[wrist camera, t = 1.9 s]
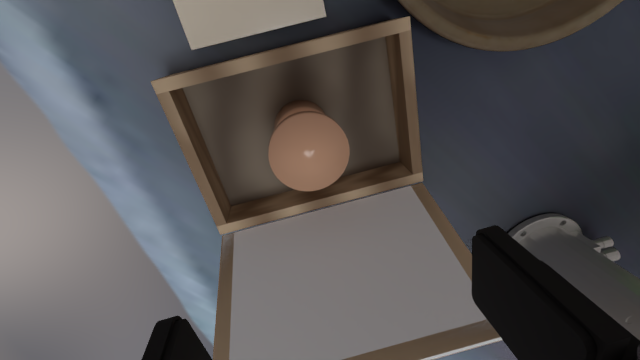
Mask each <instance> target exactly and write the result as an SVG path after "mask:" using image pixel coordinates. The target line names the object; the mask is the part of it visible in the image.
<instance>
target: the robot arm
mask: <svg viewBox="0 0 640 360" xmlns="http://www.w3.org/2000/svg"><path fill="white" fill-rule="evenodd" d="M613 245H614V242H613V240H612V239H611V238H610V237H608V236H605V237H601V238H597V239H596V240H590V239H588V238H587V237H585V236H584V235H582V231H581V229H580V227H579V225H578V224H577V223H576V222H575V221H573V220H572V219H570V218H568V217H566V216H564V215H561V214H553V213H551V214H543V215H539V216H535V217H533V218H530V219H528V220H526V221H524V222H522V223H521V224H519V225H517V226H516V227H515V228H513V229H512V230H511V231H510V232H509V233H508V234H507V233H506V232H505V231H504V230H503V229H501V228H500V227H499V226H496V225H495V226H491V227H488V228H484V229H481V230H478V231H477V232H476V236H473V238H472V298H473V300H474V302H475V304H476V306H477V307H478V308H479V310H480V311H481V312H482V314H483V315H484V316H485V317H486V319H487V320H488V321H489V323H490V324H491V325H492V327H493V328H494V329H495V330H496V332H497V333H498V334H499V336H500V337H501V338H502V340H503V341H504V342H505V344H506V345H507V346H508V347H509V349H510V350H511V351H512V353H513V354H514V355H515V357H516V358H517V359H518V360H640V279H639V278H637V277H636V276H634V275H633V274H631V273H629V272H628V271H626V270H625V269H623V268H622V267H620V266H619V265H617V264H616V263H614V262H613V261H617V260H619V259H620V253H619V252H618V250H616V249H615V248H613V247H611V246H613ZM142 360H212V359H211V357H210V355H209V354H208V352H207V351H206V349H205V348H204V346H203V344H202V343H201V341H200V340H199V338H198V337H197V335H196V333H195V332H194V330H193V329H192V327H191V325H190V324H189V322H188V321H187V320H186V319H182V318H181V317H180V316H175V317H171V318H168V319H164V320H161V321H158V322H157V323H156V325H155V327H154V329H153V332H152V334H151V337H150V340H149V342H148V345H147V347H146V350H145V353H144V355H143V358H142Z"/></svg>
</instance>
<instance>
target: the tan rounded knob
mask: <svg viewBox="0 0 640 360" xmlns="http://www.w3.org/2000/svg"><path fill="white" fill-rule="evenodd" d="M349 155H350V149H349V143H348V139H347V137H346V135H345V133H344V131H343V130H342V129H341V127H340V126H339V125H338V123H337V122H336V121H335V120H333V119H332V118H331V117H329V116H327V115H326V114H325V113H324V111H323V110H322V109H321V108H320V107H319V106H318V105H317V104H315V103H313V102H311V101H307V100H296V101H292V102H290V103H288V104H286V105H285V106H284V107H282V109H281V110H280V111H279V112H278V114H277V116H276V119H275V123H274V131H273V133H272V135H271V138H270V142H269V152H268V157H269V163H270V166H271V169H272V171H273V173H274V174H275V176H276V177H277V178H278V179H279V180H280V181H281V182H282V183H283V184H285V185H286V186H288V187H290V188H292V189H295V190H299V191H316V190H320V189H323V188H325V187H328V186H329V185H331V184H333V183H334V182H335V181H336V180H337V179H338V178H339V177H340V176H341V175H342V174H343V172H344V170H345V169H346V166H347V164H348V161H349Z"/></svg>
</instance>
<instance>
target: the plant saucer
mask: <svg viewBox="0 0 640 360" xmlns="http://www.w3.org/2000/svg"><path fill="white" fill-rule="evenodd" d="M398 1H399V3H400V4H401V5H402V6H403V7H404V8H405V9H406V10H407V11H408V12H409V13H410V14H411V15H412V16H413V17H414V18H415V19H416V20H418V21H419V22H420V23H422V24H423V25H424V26H425V27H427V28H428V29H430V30H431V31H433V32H435V33H436V34H438V35H440V36H442V37H444V38H446V39H448V40H450V41H452V42H455V43H458V44H460V45H463V46H466V47H470V48H475V49H480V50H487V51H516V50H524V49H529V48H534V47H538V46H542V45H545V44H548V43H552V42H554V41H557V40H560V39H562V38H564V37H567V36H569V35H571V34H573V33H575V32H577V31H579V30H581V29H583V28H584V27H586V26H588V25H590V24H591V23H593V22H594V21H596V20H597V19H599V18H600V17H602V16H603V15H605V14H606V13H608V12H609V11H610V10H612V9H613V8H614V7H616V6H617V5H618V4H619V3H621V2H622V1H623V0H398Z"/></svg>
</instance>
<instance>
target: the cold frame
mask: <svg viewBox="0 0 640 360" xmlns="http://www.w3.org/2000/svg"><path fill="white" fill-rule="evenodd" d="M151 84H152V86H153V88H154V90H155V92H156V95H157V97H158V99H159V101H160V103H161V105H162V108H163V110H164V112H165V114H166V116H167V119H168V121H169V123H170V125H171V127H172V130H173V132H174V134H175V136H176V138H177V141H178V143H179V145H180V147H181V149H182V151H183V154H184V156H185V158H186V160H187V162H188V165H189V167H190V169H191V171H192V173H193V176H194V178H195V180H196V182H197V184H198V187H199V189H200V191H201V193H202V195H203V198H204V200H205V202H206V204H207V206H208V208H209V211H210V213H211V215H212V217H213V219H214V222H215V224H216V226H217V228H218V230H219V233H220V235H221V234H225V233H229V232H233V231H236V230H240V229H244V228H248V227H251V226H255V225H259V224H263V223H266V222H270V221H274V220H278V219H282V218H285V217H289V216H293V215H297V214H300V213H304V212H308V211H312V210H315V209H319V208H323V207H327V206H331V205H334V204H338V203H342V202H346V201H349V200H353V199H357V198H361V197H364V196H368V195H372V194H376V193H380V192H383V191H387V190H391V189H395V188H398V187H402V186H406V185H410V184H414V183H417V182H421V181H423V172H422V160H421V147H420V135H419V123H418V110H417V98H416V85H415V73H414V61H413V48H412V36H411V23H410V16H409V17H403V18H397V19H391V20H387V21H383V22H379V23H375V24H371V25H367V26H363V27H359V28H355V29H351V30H347V31H343V32H339V33H335V34H331V35H327V36H323V37H319V38H315V39H311V40H307V41H303V42H299V43H295V44H291V45H287V46H283V47H279V48H275V49H271V50H267V51H264V52H260V53H256V54H252V55H248V56H244V57H240V58H236V59H232V60H228V61H224V62H220V63H216V64H212V65H208V66H204V67H200V68H196V69H192V70H188V71H184V72H180V73H176V74H172V75H168V76H165V77H162V78H160V79H157V80H154V81H151ZM296 100H307V101H311V102H313V103H315V104H317V105H318V106H319V107H320V108H321V109H322V110H323V111H324V113H325V114H326V115H327V116H329V117H331V118H332V119H333V120H335V121H336V122H337V123H338V125H339V126H340V127H341V129H342V130H343V131H344V133H345V135H346V137H347V139H348V143H349V149H350V155H349V161H348V164H347V166H346V169H345V170H344V172H343V174H342V175H341V176H340V177H339V178H338V179H337V180H336V181H335V182H334V183H333V184H331V185H329V186H328V187H325V188H323V189H320V190H316V191H299V190H295V189H292V188H290V187H288V186H286V185H285V184H283V183H282V182H281V181H280V180H279V179H278V178H277V177H276V176H275V174H274V173H273V171H272V169H271V166H270V163H269V157H268V152H269V142H270V138H271V135H272V133H273V131H274V123H275V119H276V116H277V114H278V112H279V111H280V110H281V109H282V107H284V106H285V105H286V104H288V103H290V102H292V101H296Z"/></svg>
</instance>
